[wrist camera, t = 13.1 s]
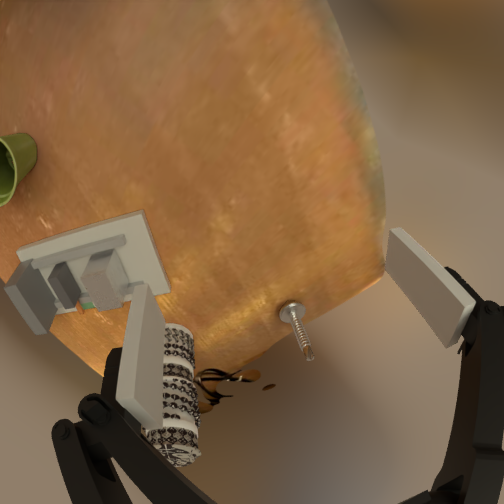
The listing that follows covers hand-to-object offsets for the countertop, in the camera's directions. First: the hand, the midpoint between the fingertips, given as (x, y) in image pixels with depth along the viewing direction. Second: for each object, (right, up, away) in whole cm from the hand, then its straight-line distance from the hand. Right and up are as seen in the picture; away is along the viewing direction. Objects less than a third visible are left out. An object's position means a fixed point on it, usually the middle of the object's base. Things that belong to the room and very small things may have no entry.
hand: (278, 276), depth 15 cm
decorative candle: (-17, -15, +38) cm, 44 cm away
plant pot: (-34, +15, +16) cm, 41 cm away
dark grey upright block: (-30, -4, +26) cm, 40 cm away
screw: (+5, -8, +39) cm, 40 cm away
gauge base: (-27, -1, +27) cm, 38 cm away
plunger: (-23, -1, +26) cm, 35 cm away
